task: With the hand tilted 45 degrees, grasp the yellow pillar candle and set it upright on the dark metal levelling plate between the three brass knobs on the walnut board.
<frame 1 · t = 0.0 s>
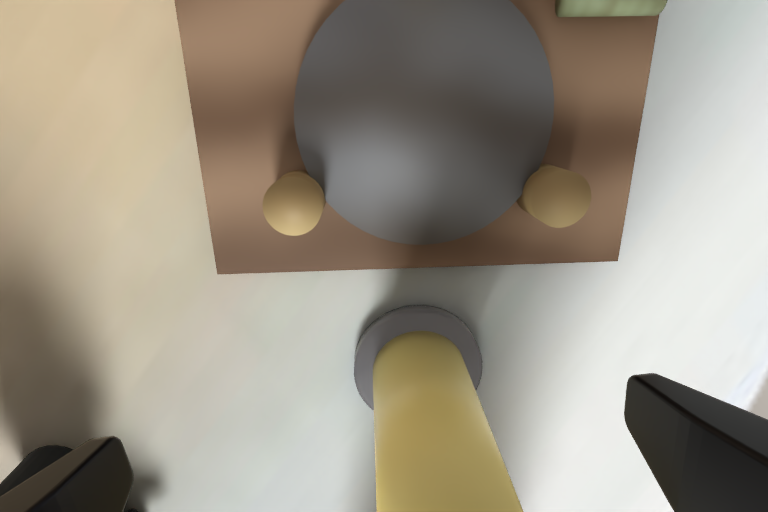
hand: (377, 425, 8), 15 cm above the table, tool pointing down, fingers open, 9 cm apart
board: (419, 119, 20), on the table
yellow pillar candle: (416, 361, 24), on the table
scope: (72, 482, 26), on the table
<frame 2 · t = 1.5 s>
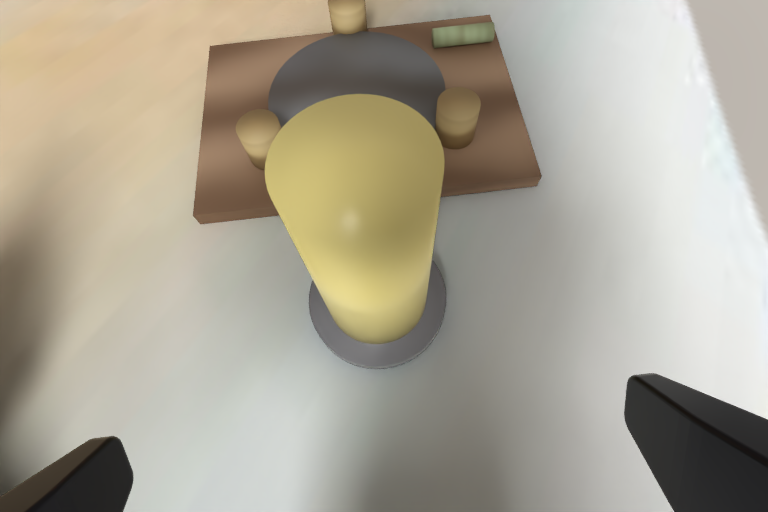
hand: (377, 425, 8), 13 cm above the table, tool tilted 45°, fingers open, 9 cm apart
board: (359, 115, 28), on the table
yellow pillar candle: (378, 302, 23), on the table
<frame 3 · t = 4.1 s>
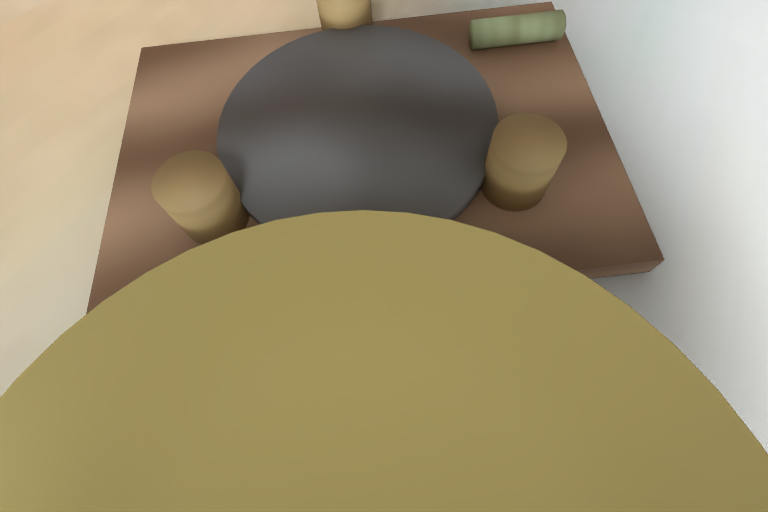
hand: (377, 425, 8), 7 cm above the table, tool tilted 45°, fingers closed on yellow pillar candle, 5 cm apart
board: (360, 151, 19), on the table
yellow pillar candle: (394, 492, 13), on the table, touching gripper
when the fingers open (10 cm above the table, at t = 7.4 s): yellow pillar candle drops 1 cm, resting on board.
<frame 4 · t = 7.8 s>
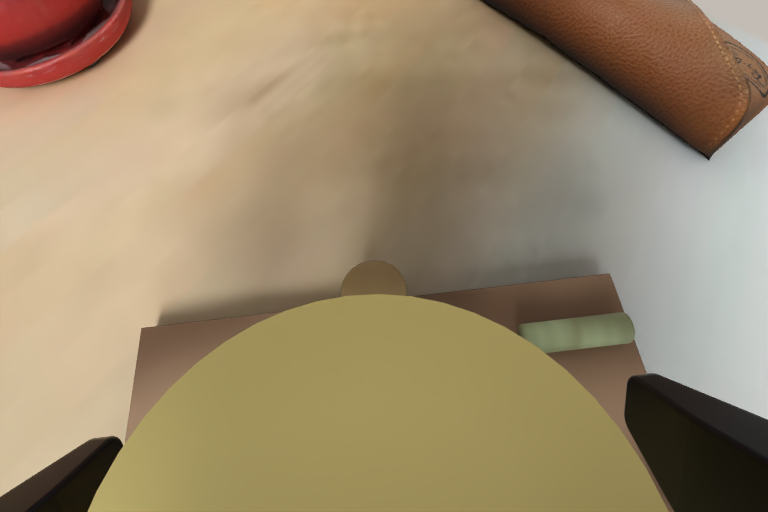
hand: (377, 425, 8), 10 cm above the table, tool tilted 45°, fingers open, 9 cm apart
board: (396, 485, 16), on the table
sunglasses case: (609, 48, 26), on the table
plant pot: (55, 37, 29), on the table
yellow pillar candle: (396, 493, 14), point 2 cm above the table, touching board
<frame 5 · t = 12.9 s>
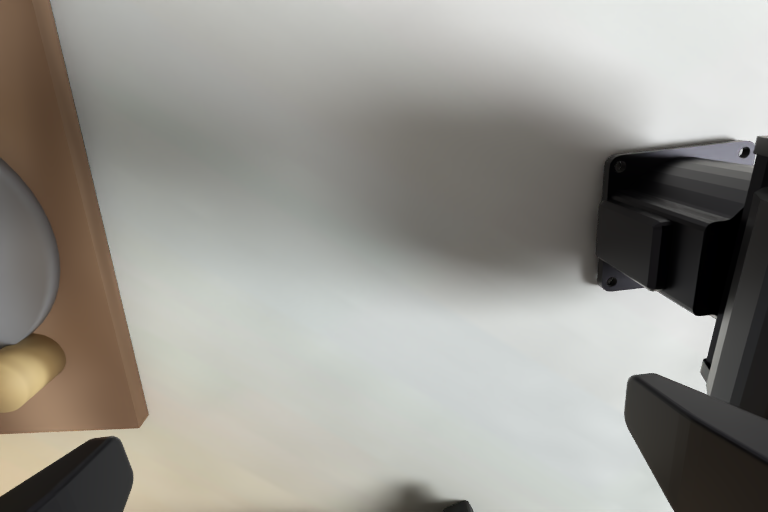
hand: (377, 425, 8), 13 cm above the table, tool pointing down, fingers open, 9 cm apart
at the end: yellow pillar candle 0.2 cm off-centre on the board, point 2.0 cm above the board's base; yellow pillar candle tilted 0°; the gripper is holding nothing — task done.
